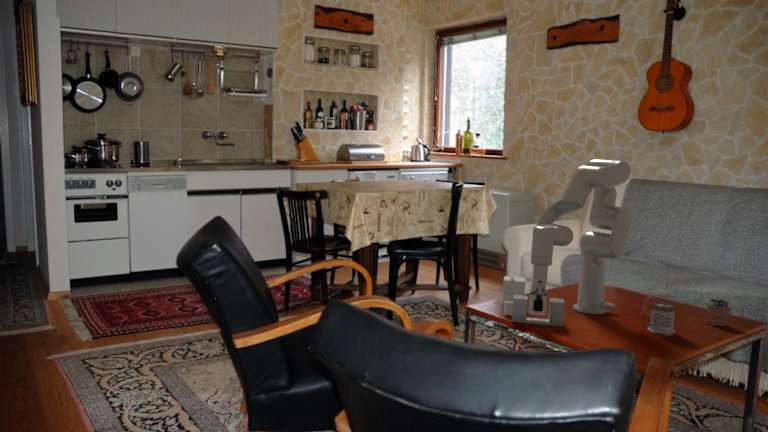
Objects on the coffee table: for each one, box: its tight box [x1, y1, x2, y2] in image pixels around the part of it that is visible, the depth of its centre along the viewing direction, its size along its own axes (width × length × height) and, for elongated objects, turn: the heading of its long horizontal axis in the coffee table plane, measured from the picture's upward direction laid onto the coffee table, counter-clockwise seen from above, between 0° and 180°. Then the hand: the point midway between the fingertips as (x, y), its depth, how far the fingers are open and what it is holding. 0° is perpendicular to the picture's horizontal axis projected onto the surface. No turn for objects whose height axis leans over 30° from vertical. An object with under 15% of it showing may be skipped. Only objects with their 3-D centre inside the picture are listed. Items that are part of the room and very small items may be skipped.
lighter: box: [705, 298, 732, 326], centre depth 242 cm, size 8×3×10 cm, turn 71°
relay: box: [502, 300, 513, 317], centre depth 245 cm, size 4×4×5 cm
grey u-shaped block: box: [511, 294, 565, 328], centre depth 235 cm, size 18×6×9 cm, turn 78°
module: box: [528, 288, 548, 316], centre depth 235 cm, size 6×6×8 cm
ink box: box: [501, 272, 526, 310], centre depth 255 cm, size 9×8×13 cm
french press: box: [643, 262, 678, 334], centre depth 231 cm, size 10×12×25 cm
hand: (537, 308), depth 235 cm, fingers closed on module, 5 cm apart
